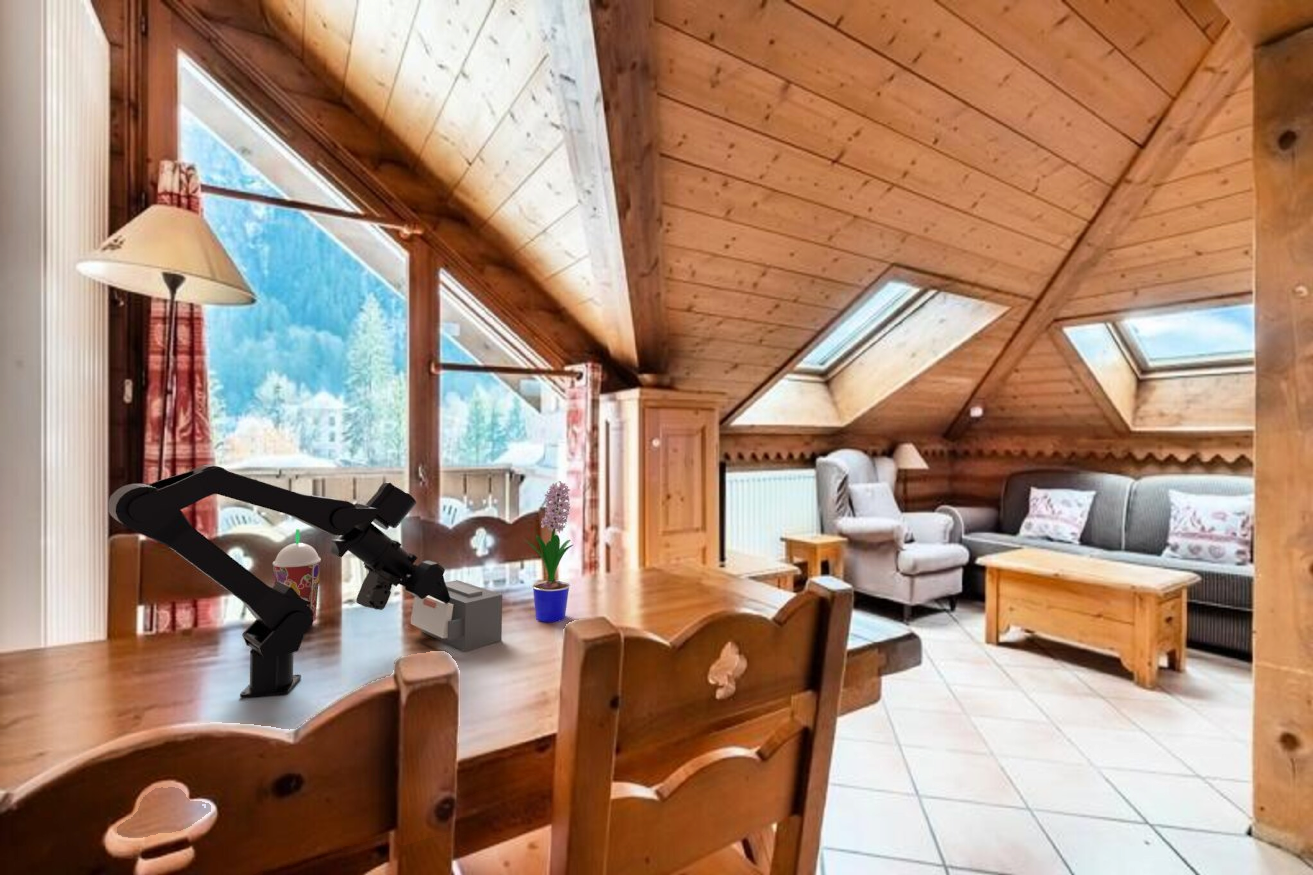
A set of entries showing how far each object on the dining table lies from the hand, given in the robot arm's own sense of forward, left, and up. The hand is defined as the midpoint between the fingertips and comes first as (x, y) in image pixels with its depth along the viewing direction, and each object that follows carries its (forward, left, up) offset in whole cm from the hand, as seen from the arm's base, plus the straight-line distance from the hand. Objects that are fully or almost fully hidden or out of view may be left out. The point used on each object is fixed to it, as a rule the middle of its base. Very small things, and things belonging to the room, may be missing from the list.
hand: (435, 596), depth 114 cm
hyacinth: (+12, -22, -9) cm, 26 cm away
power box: (+3, -3, -9) cm, 10 cm away
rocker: (-1, +1, -6) cm, 6 cm away
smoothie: (+14, +28, -9) cm, 33 cm away
